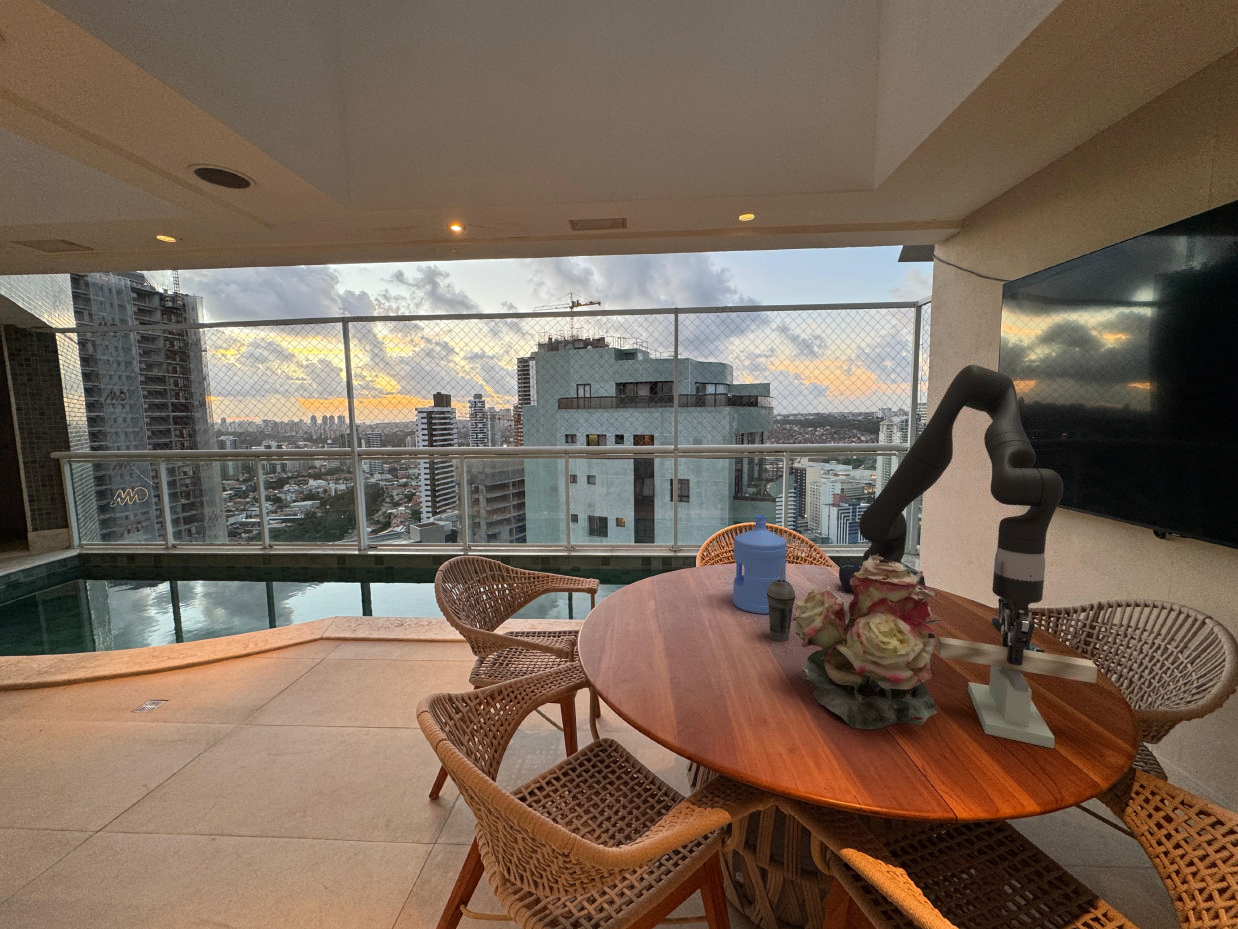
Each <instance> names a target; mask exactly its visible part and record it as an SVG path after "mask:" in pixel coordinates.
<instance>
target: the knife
mask: <svg viewBox="0 0 1238 929" xmlns="http://www.w3.org/2000/svg"><path fill="white" fill-rule="evenodd" d="M991 622H992V624H993V626H994V627H995V628H996V629H997V630H998V631H999V632H1000V633H1001V629H1002V628H1000V627H999V618H997V617H993V618H992V619H991ZM1017 640H1021V638H1017ZM1024 650H1029V651H1035V652H1041V653H1046V651H1045V650H1044V649H1042V648H1040V647H1038V646H1036V645H1034V644H1032V643H1030V646H1029V648H1024Z"/></svg>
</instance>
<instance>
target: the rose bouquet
mask: <svg viewBox="0 0 1238 929" xmlns="http://www.w3.org/2000/svg"><path fill="white" fill-rule="evenodd" d="M877 555H878V554H877ZM877 555H876V556H870V558H869V559H868V560H867V561H864V562H863V561H862V562H863V565H862V567H861V569H860V571H859V572H858V573H853V574H854V575H851V576H852V578H851V579H850V585H851V588H852V589H853V591H854V592H853V591H852V592H853V594H854V595H853V599H852V600H851V601H848V600H845V599H842V598H841V597H839V596H838V595H836V594H835V593H834V591H832V589H831V587H830V586H829V585H826V586H823V587H820V588H814V589H811V591H809V592H807V595H806V597H805V599H801V600H797V601H795V602H794V605H796V606H797V607H796V608H795V609H796V616H792V618H791V622H795V624H794V629H793V630H794V633H795V634H796V635H797V636H799V639H801V640H802V641H803V642H802V644H801V647H803V648H807V647H810V646H816V647H819V648H821V650H816V651H814V652H812V653H811V654H810V655H808V657H807V660H806V662H805V663H804V664H803V666H802V668H801V670H802V671H803V672H802V673H803V674H804V675H805V677H803V676H802V678H803V679H805V680H807V681H808V682H810V683H812V684H813V685H815V686H817V688H816V689H814V691H813V692H812V693H811V694H812V696H813V697H814V698H815V699H816V701H817V702H818V703H819V705H821V706H823V707H825V708H827V709H828V710H830V711H831V713H834V714H836V715H838V716H839V717H841V718H842V719H843V720H844V722H845V723H846V724H847V725H848V726H849V727H850V728H852V729H860V730H861V729H862V730H869V731H870V730H871V731H872V730H878V729H882V728H885V727H889V726H891V725H895V724H913V725H920V726H924V724H925V723H926V721H927V720H928V718H930V717H931V716H934V715H935V714H938V713H939V712H938V710H937V709H936V707H935V706H936V704H935V700H934V698H933V697H932V696H931V695H930V693H929V691H928V689H927V686H926V684H925V683H926V681H929V680H931V679H932V676H933V675H932V673H931V670H930V668H931V666H930V661H931V656H932V654H933V653H934V650H935V646H936V645H937V644H938V642H937V638H936V636H935V635H934V634H933V631H932V628H931V627H930V626H929V625H928V624H935V623H939V622H942V621H943V620H942V619H933V620H931V619H929V620H928V618H929V617H933V614H932V611H931V607H930V605H929V603H928V600H927V598H932V599H934V600H936V596H938V594H935V592H934V591H933V590H931V589H930V588H929V587H927V586H926V585H925V586H923V585H920V584H919V578H920V577H921V576H922V575H923V574H924V571H923V570H922V571H921V570H920V571H918V572H917V573H918V574H917V575H914V574H912V573H911V572H910V571H911V570H912V569H911V568H907V567H906V566H905V564H902V563H897V562H892V561H887V560H885V559H883V557H882V558H881V557H879V556H877ZM795 677H798V676H795ZM844 687H845V688H846V689H847V690H846V689H845V688H844ZM910 691H911V692H910ZM862 694H865V695H862ZM867 695H868V696H867ZM895 697H896V698H895ZM901 697H902V698H901ZM917 717H920V718H922V719H914V718H917Z"/></svg>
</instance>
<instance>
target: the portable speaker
mask: <svg viewBox="0 0 1238 929" xmlns="http://www.w3.org/2000/svg"><path fill="white" fill-rule="evenodd" d="M862 565H863V561H855V560H847V561H846V560H845V561H842V562H841V564H840V566H839V569H838V579H839V582H840V584H841V587H842V588H843V589H845V590H846V591H850V592H853V593H854V591H853V589H852V588H851V585H850V579H851V578H852V576H851V575H854V574H853V573H858V572H859V571H860V569H861V567H862ZM910 570H911V571H910V572H911V573H912V574H914V575H917V574H918V573H919V572H917V571H914V570H912V569H910ZM919 584H920V585H923V586H925V587H926V581H925V576H924V575H923V574H922V576H921V577H920V578H919Z"/></svg>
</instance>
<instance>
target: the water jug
mask: <svg viewBox="0 0 1238 929" xmlns="http://www.w3.org/2000/svg"><path fill="white" fill-rule="evenodd" d="M754 517H755V521H754V524H755V525H754V526H755V527H754V528H753V529H751V530H748V531H745V532H741V533H740V534H737V535H736V536H735V537H734V542H733V559H734V561H735V563H736V564H735V565H736V566H735V569H736V570H735V578H734V579H733V587H732V588H733V592H732V602H733V604H734V605H735V606H736V608H739V609H741V610H742V611H745V612H748V613H753V614H761V615H763V614H764V615H766V614H767V615H769V603H768V599H767V590H768V587H769V586H770V584H771V583H772V582H773V581H776V580H780V577H781V565H783V580H785V581H787V572H786V571H787V570H786V569H787V567H786V565H787V552H788V548H787V541H786V539H785V538H784V537H783V536H780V535H778V534H776V533H774V532H773V531H770V530H768V529H767V527H766V526H767V520H766V518H767V515H764V514H756V515H755V516H754Z"/></svg>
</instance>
